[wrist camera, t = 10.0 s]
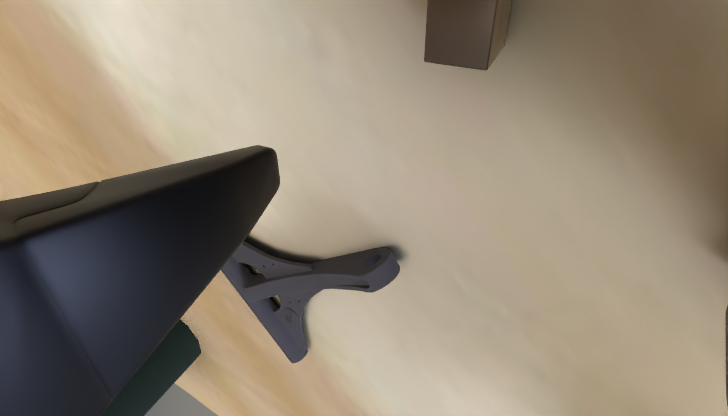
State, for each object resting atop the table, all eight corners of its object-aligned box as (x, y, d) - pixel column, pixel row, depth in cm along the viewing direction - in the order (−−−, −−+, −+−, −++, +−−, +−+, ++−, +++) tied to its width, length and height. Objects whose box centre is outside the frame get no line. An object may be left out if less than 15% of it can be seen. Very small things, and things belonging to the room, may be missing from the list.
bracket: (452, 339, 29) (439, 373, 27) (297, 348, 38) (279, 374, 36) (341, 147, 25) (316, 170, 22) (196, 209, 33) (168, 229, 31)
